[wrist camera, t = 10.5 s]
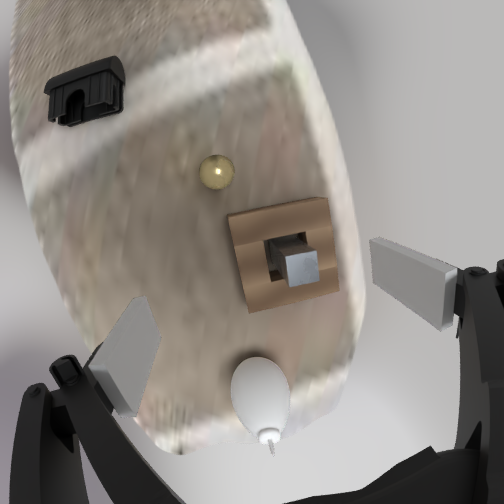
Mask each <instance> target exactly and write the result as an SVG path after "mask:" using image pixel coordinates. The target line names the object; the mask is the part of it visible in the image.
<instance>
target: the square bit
mask: <svg viewBox="0 0 504 504" xmlns="http://www.w3.org/2000/svg"><path fill="white" fill-rule="evenodd" d="M268 240H269V246H270V252H271V259H272V263H273V264H274V266H275V267H276V269H277V270H278V272H279V273H280V274H281V276H282V277H283V279H284V280H285V282H286V283H287V285H288V286H289V287H294V286H299V285H303V284H308V283H312V282H317V281H320V279H319V269H318V259H317V251H316V250H315V249H313V248H312V247H310V246H309V245H307V244H306V243H304V242H303V241H301V240H300V239H298V238H297V237H295V236H293V235H287V236H281V237H276V238H272V239H268Z"/></svg>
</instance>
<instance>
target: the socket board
mask: <svg viewBox="0 0 504 504" xmlns="http://www.w3.org/2000/svg"><path fill="white" fill-rule="evenodd" d="M227 216H228V221H229V226H230V230H231V235H232V240H233V244H234V249H235V253H236V258H237V263H238V267H239V272H240V276H241V281H242V285H243V289H244V294H245V298H246V303H247V307H248V311H249V313H253V312H257V311H262V310H266V309H270V308H275V307H279V306H283V305H287V304H291V303H295V302H299V301H303V300H307V299H311V298H315V297H318V296H322V295H326V294H330V293H333V292H337V291H339V281H338V271H337V262H336V254H335V245H334V238H333V230H332V223H331V217H330V210H329V204H328V198H322V197H314V198H308V199H303V200H297V201H292V202H287V203H282V204H277V205H272V206H267V207H262V208H257V209H252V210H247V211H242V212H238V213H233V214H228V215H227ZM295 233H298V236H299V239H300V240H301V241H303V242H304V243H306V244H307V245H309V246H310V247H312V248H313V249H315V250H316V251H317V259H318V269H319V279H320V281H317V282H312V283H308V284H303V285H299V286H294V287H289V286H288V285H287V283H286V282H285V280H284V279H283V277H282V276H281V274H280V273H279V272H278V270H275V271H271V272H269V269H268V264H267V259H266V254H265V249H264V243H263V240H267V239H272V238H276V237H281V236H286V235H290V234H295Z"/></svg>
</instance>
